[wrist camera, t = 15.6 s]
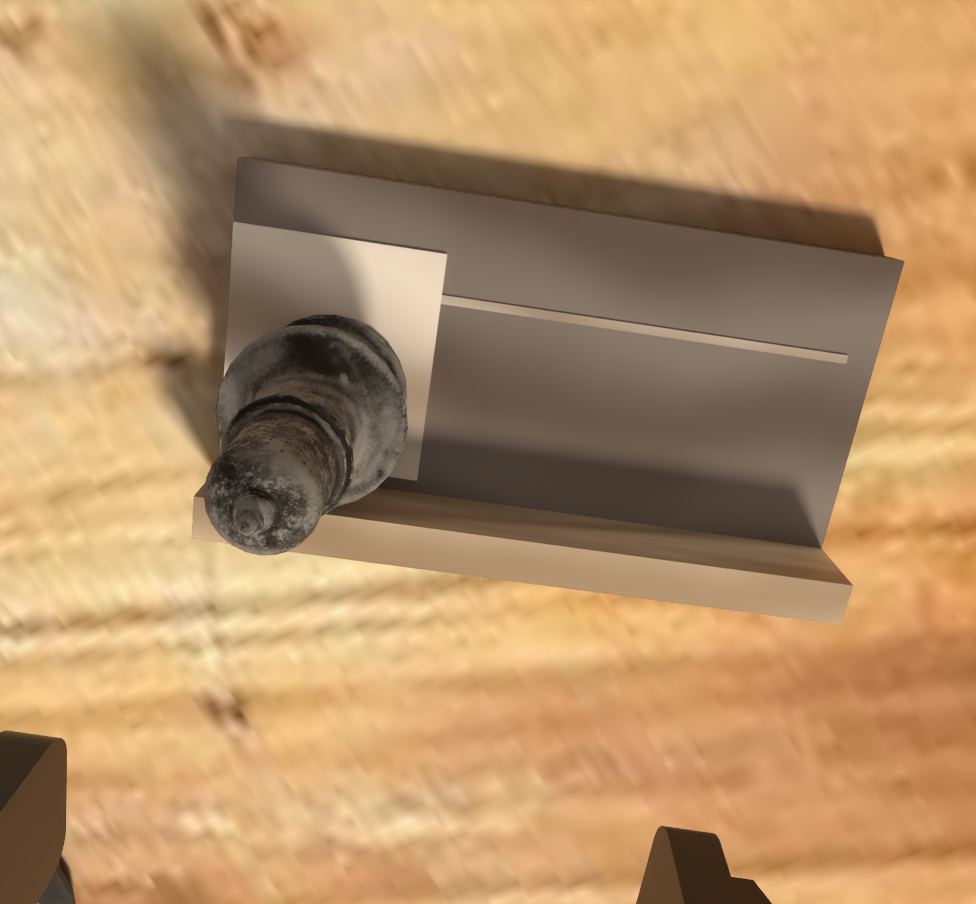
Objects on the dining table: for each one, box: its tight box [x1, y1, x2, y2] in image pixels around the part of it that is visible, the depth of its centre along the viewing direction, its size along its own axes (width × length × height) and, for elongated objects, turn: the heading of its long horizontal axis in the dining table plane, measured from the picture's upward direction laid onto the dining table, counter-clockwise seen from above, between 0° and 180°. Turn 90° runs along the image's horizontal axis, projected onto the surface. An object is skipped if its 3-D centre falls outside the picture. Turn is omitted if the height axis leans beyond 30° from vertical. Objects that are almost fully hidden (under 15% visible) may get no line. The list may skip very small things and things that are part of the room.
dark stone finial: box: [204, 315, 408, 555], centre depth 26 cm, size 6×6×12 cm
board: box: [192, 157, 904, 625], centre depth 31 cm, size 12×22×4 cm, turn 82°
